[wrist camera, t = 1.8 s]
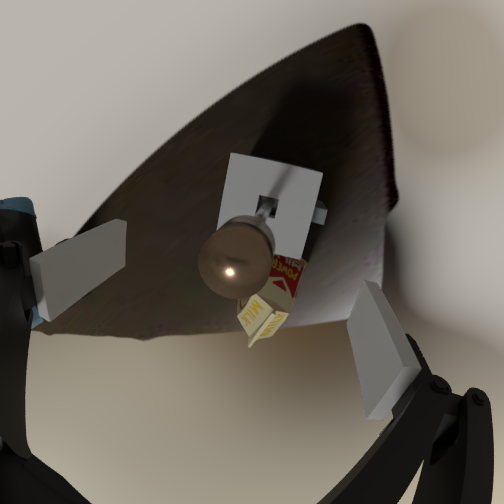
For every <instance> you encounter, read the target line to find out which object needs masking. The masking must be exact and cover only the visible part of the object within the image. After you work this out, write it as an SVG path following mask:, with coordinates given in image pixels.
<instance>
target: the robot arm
mask: <svg viewBox="0 0 504 504" xmlns="http://www.w3.org/2000/svg"><path fill="white" fill-rule="evenodd" d="M36 218H37V217H36V215H35V212H34V207H33V203H32V201H31V200H30V199H29V198H27V197H14V198H7V199H4V200H0V504H91V503H90V502H89V501H88V500H87V499H86V498H85V497H83V496H82V495H81V494H80V493H79V492H78V491H77V490H76V489H75V488H74V487H73V486H72V485H71V484H70V483H68V481H66V479H65V478H64V477H63V476H61V475H60V474H58V473H57V472H56V471H54V470H53V469H51V468H50V467H48V466H47V465H46V464H45V463H43V462H42V461H41V460H39V459H38V458H37V457H36V456H34V455H33V454H32V453H31V451H30V449H29V446H28V444H27V438H26V423H25V386H26V370H27V358H28V348H29V340H30V333H31V329H32V328H33V327H35V326H36V325H38V324H39V323H42V322H43V320H45V319H46V320H47V321H49V322H51V321H52V320H53V319H55V318H56V317H57V316H58V315H60V314H61V313H62V312H64V311H65V310H66V309H67V308H69V307H70V306H71V305H73V304H74V303H75V302H76V301H78V300H79V299H81V298H84V297H86V296H88V295H89V294H90V293H91V292H92V291H93V290H94V289H95V287H96V286H98V285H99V284H101V283H102V282H103V281H105V280H106V279H107V278H109V277H110V276H112V275H113V274H114V273H116V272H117V271H119V270H120V269H121V268H123V267H124V266H125V245H126V223H127V221H123V220H119V219H115V220H112V221H110V222H107V223H105V224H103V225H100V226H98V227H95V228H93V229H91V230H89V231H86V232H84V233H82V234H80V235H77V236H75V237H73V238H71V239H65V240H63V241H61V242H59V243H57V244H56V245H55V246H54V247H52V248H50V249H48V250H46V251H43V250H42V246H41V241H40V237H39V232H38V228H37V222H36ZM347 328H348V333H349V337H350V341H351V345H352V350H353V354H354V358H355V363H356V368H357V373H358V377H359V382H360V387H361V392H362V398H363V403H364V409H365V415H366V419H373V420H384V419H385V417H386V416H387V415H388V414H389V412H390V411H391V410H392V414H393V419H392V420H391V421H390V423H389V424H388V425H387V426H386V427H385V428H384V429H383V431H382V432H381V433H380V434H379V435H380V436H379V437H378V439H377V440H376V441H375V442H374V444H373V445H372V446H371V447H370V449H369V450H368V451H367V452H366V453H365V455H364V456H363V457H362V458H361V459H360V460H359V462H358V463H357V464H356V465H355V466H354V467H353V468H352V470H350V472H349V473H348V474H347V475H346V476H345V477H344V478H343V479H342V480H341V481H340V482H339V483H338V484H337V485H336V486H335V487H334V488H333V489H332V490H331V491H330V492H329V493H328V494H327V495H326V496H325V497H324V498H323V499H322V500H320V501H319V502H318V503H317V504H397V503H398V502H399V500H400V499H401V497H402V496H403V494H404V493H405V491H406V489H407V488H408V486H409V485H410V483H411V481H412V479H413V478H414V476H415V474H416V473H417V471H418V469H419V467H420V465H421V463H422V461H423V460H424V462H423V466H422V470H421V474H420V478H419V482H418V485H417V489H416V492H415V495H414V498H413V502H412V504H491V501H492V491H493V476H494V441H493V425H492V415H491V405H490V401H489V398H488V397H487V395H486V393H485V392H484V391H482V390H480V389H478V388H470V389H469V390H467V392H466V393H465V394H464V396H460V395H457V394H454V393H452V390H451V387H450V385H449V384H448V383H447V381H445V380H444V379H443V378H442V377H439V376H437V375H432V373H431V371H430V369H429V367H428V365H427V363H426V360H425V358H424V357H422V356H423V355H422V353H421V351H420V350H419V347H418V345H417V343H416V341H415V340H414V339H413V338H412V337H411V336H410V335H409V334H405V333H404V331H403V329H402V327H401V326H400V324H399V322H398V320H397V318H396V316H395V314H394V312H393V311H392V309H391V307H390V305H389V303H388V301H387V299H386V298H385V296H384V294H383V292H382V291H381V289H380V287H379V285H378V284H377V283H375V282H371V281H367V280H364V282H363V285H362V287H361V290H360V292H359V295H358V298H357V300H356V302H355V305H354V307H353V310H352V312H351V315H350V317H349V319H348V322H347Z"/></svg>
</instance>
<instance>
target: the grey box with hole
mask: <svg viewBox="0 0 504 504" xmlns="http://www.w3.org/2000/svg"><path fill="white" fill-rule="evenodd" d="M322 175H323V173H322V172H319V171H317V170H315V169H312V168H308V167H304V166H300V165H295V164H291V163H287V162H283V161H278V160H274V159H269V158H264V157H259V156H255V155H249V154H240V153H231V156H230V161H229V166H228V171H227V176H226V181H225V187H224V192H223V198H222V203H221V209H220V215H219V220H218V226H217V230H218V229H219V228H220V227H221V226H222V225H223V224H224V223H225V222H227V221H228V220H229V219H231V218H233V217H236V216H240V215H249V216H255V214H256V213H257V208H258V204H259V199H260V195H262V196H266V197H271V198H275V199H279V202H278V206H277V211H276V215H275V216H272V215H269V216H268V218H267V220H266V222H265V223H266V224H267V225H268V226H269V228H270V229H271V231H272V232H273V235H274V238H275V252H274V254H278V255H282V256H286V257H291V258H295V259H299V260H301V256H302V253H303V249H304V245H305V242H306V238H307V234H308V231H309V227H310V223H311V222H314V223H318V224H322V225H324V222H325V218H326V214H327V211H328V210H327V209H326V207H325V205H324V204H323V202H322V201H321V200H319V199H317V196H318V192H319V188H320V184H321V180H322Z"/></svg>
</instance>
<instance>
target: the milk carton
mask: <svg viewBox="0 0 504 504" xmlns="http://www.w3.org/2000/svg"><path fill="white" fill-rule="evenodd" d="M307 264H308V262H306V261H305V260H304V259H302V258H301V260H299V259H295V258H291V257H286V256H282V255H278V254H274V257H273V261H272V266H271V270H270V275H269V278H268V281H267V283H266V284H265V286H264V287H263V288H262V289H261V290H260V291H259V292H258V293H256V294H255V295H253V296H251V297H248V298H244V299H238V308H237V317H238V319H239V321H240V322H241V324H242V326H243V327H244V329H245V331H246V332H247V334H248V336H249V341H248V347H251V346H252V344H253V343H254V342H255V341H256V340H257V339H262V338H266V337H271V336H272V335H273V334H274V333H275V331H277V329H278V328H279V327H280V326H281V325H282V323H283V322H284V321H285V320H286V318H287V316H288V315H289V312H290V310H291V308H292V306H293V304H294V302H295V300H296V295H297V289H298V285H299V282H300V280H301V277H302V274H303V272H304V270H305V268H306V266H307Z"/></svg>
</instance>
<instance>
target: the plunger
mask: <svg viewBox="0 0 504 504" xmlns="http://www.w3.org/2000/svg"><path fill="white" fill-rule="evenodd" d="M278 202H279V199H275V198H271V197H266V196H262V195H260V199H259V204H258V208H257V213H256V214H255V216H249V215H240V216H236V217H233V218H231V219H229V220H228V221H227V222H225V223H224V224H223V225H222V226H221V227H220V228H219V229H218V230H217V231H216V232H215V233H214V234H213V235H212V236H211V237H210V238H209V239H208V240H207V241H206V242H205V243H204V244H203V246H202V248H201V250H200V253H199V257H198V267H199V271H200V274H201V277H202V279H203V280H204V282H205V283H206V284H207V286H208V287H209V288H210V289H211V290H213V291H214V292H215V293H217V294H219V295H221V296H223V297H226V298H231V299H244V298H248V297H251V296H253V295H255V294H256V293H258V292H259V291H260V290H261V289H262V288H263V287H264V286H265V284H266V283H267V281H268V278H269V275H270V270H271V266H272V261H273V257H274V252H275V238H274V235H273V232H272V231H271V229H270V228H269V226H268V225H267V224H266V223H265V222H266V220H267V218H268V216H269V215H272V216H275V215H276V211H277V206H278Z"/></svg>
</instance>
